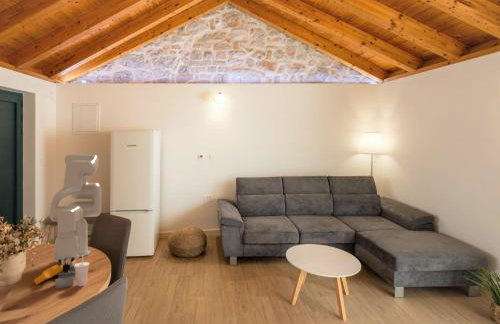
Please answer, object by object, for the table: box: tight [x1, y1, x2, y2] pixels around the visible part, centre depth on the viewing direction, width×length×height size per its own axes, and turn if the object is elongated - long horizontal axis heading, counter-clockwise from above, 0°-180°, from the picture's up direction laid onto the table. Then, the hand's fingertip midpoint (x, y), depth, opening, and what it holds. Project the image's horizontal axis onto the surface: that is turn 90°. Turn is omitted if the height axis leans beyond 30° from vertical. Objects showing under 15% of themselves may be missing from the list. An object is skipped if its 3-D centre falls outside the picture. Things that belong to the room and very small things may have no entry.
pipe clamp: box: [33, 264, 63, 286], centre depth 148 cm, size 12×4×6 cm
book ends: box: [54, 266, 76, 289], centre depth 147 cm, size 17×7×4 cm, turn 26°
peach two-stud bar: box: [65, 259, 77, 266], centre depth 163 cm, size 12×4×5 cm, turn 22°
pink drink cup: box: [74, 255, 90, 287], centre depth 143 cm, size 6×6×14 cm
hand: (66, 272), depth 147 cm, fingers closed
